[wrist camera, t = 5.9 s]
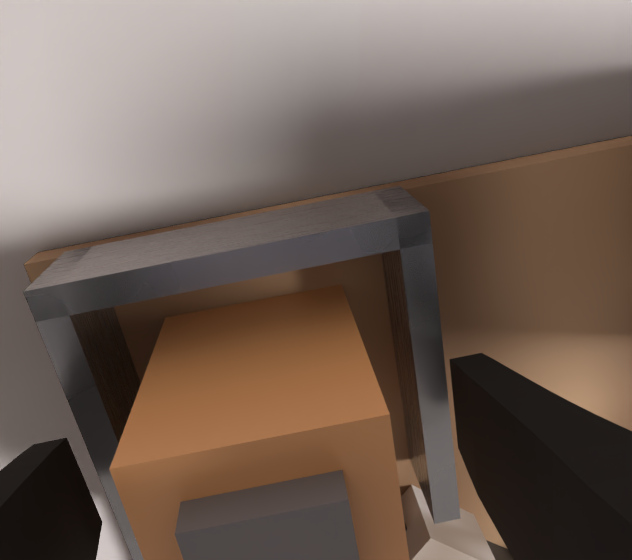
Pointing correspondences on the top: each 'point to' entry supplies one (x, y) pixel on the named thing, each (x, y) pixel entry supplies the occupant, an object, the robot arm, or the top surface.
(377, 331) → the board
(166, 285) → the frame
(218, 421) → the plug
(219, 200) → the top surface
